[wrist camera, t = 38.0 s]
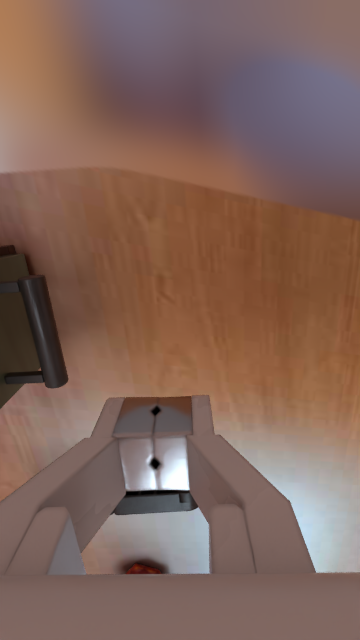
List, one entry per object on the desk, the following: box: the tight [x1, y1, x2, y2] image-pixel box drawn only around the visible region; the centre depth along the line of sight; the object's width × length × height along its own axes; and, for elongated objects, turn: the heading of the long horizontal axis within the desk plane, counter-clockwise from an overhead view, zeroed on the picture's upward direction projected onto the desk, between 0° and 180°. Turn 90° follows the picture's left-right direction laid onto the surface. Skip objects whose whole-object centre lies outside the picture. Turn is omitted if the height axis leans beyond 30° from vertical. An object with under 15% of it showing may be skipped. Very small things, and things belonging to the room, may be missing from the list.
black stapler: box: [110, 490, 198, 515], centre depth 28 cm, size 18×3×3 cm, turn 95°
